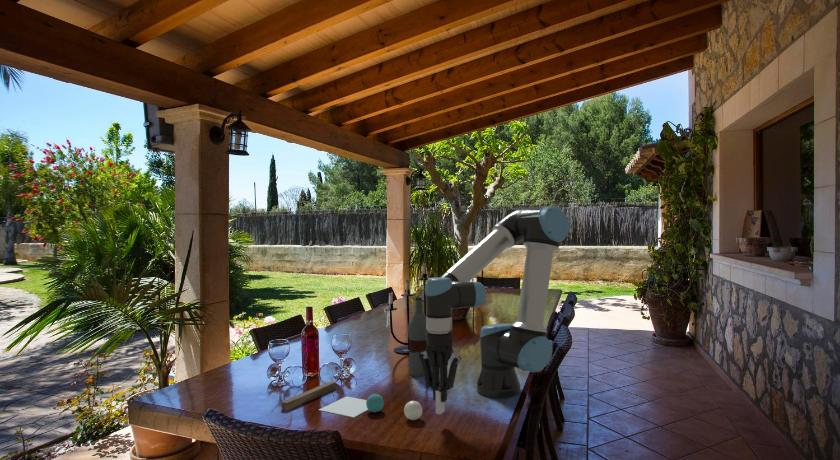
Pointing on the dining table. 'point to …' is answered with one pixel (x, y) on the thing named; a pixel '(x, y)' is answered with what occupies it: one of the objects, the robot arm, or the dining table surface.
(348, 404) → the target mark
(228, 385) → the dining table surface
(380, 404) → the teal ball
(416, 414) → the cue ball
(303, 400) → the bar
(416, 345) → the bottle
